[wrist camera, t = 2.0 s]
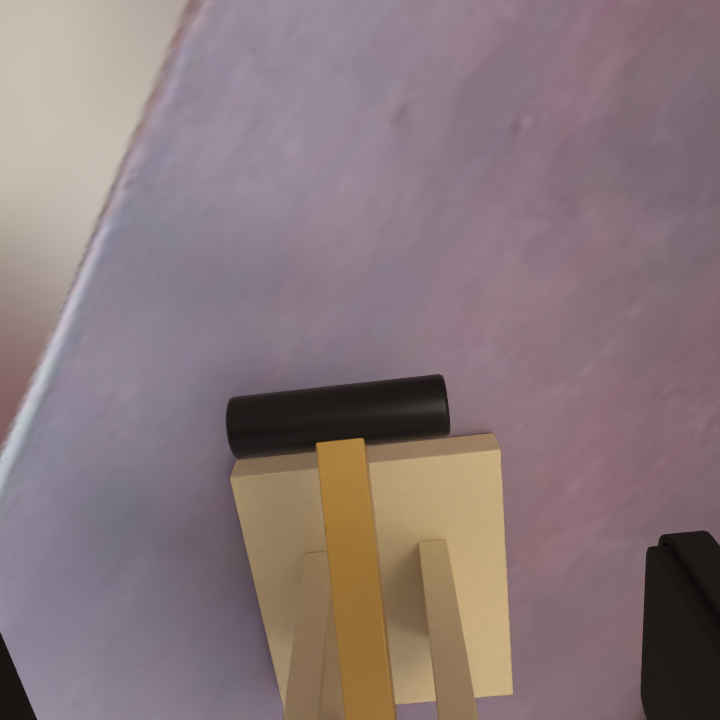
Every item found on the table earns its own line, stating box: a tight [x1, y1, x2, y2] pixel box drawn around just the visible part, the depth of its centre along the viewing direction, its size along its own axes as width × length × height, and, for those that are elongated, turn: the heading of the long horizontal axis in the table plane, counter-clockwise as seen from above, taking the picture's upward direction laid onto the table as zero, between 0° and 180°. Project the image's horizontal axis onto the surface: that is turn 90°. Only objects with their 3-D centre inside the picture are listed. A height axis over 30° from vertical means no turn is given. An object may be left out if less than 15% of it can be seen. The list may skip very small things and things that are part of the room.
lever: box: [226, 374, 450, 720], centre depth 15 cm, size 13×5×2 cm, turn 7°
